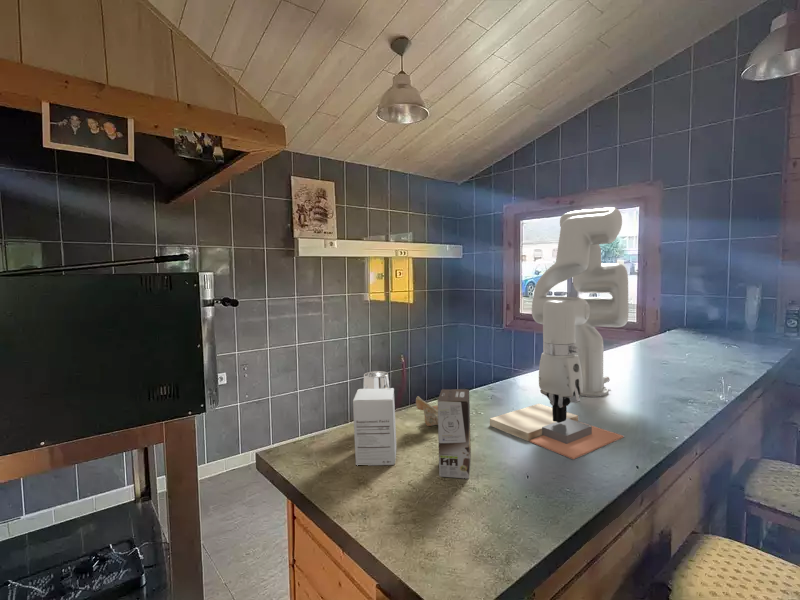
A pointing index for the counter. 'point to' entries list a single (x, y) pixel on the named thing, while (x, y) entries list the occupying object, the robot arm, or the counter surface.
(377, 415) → the supplement box
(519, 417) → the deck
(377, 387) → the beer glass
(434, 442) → the counter surface
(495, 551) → the counter surface
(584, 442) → the mat
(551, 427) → the tile
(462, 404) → the coffee box
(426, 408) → the oil lamp
